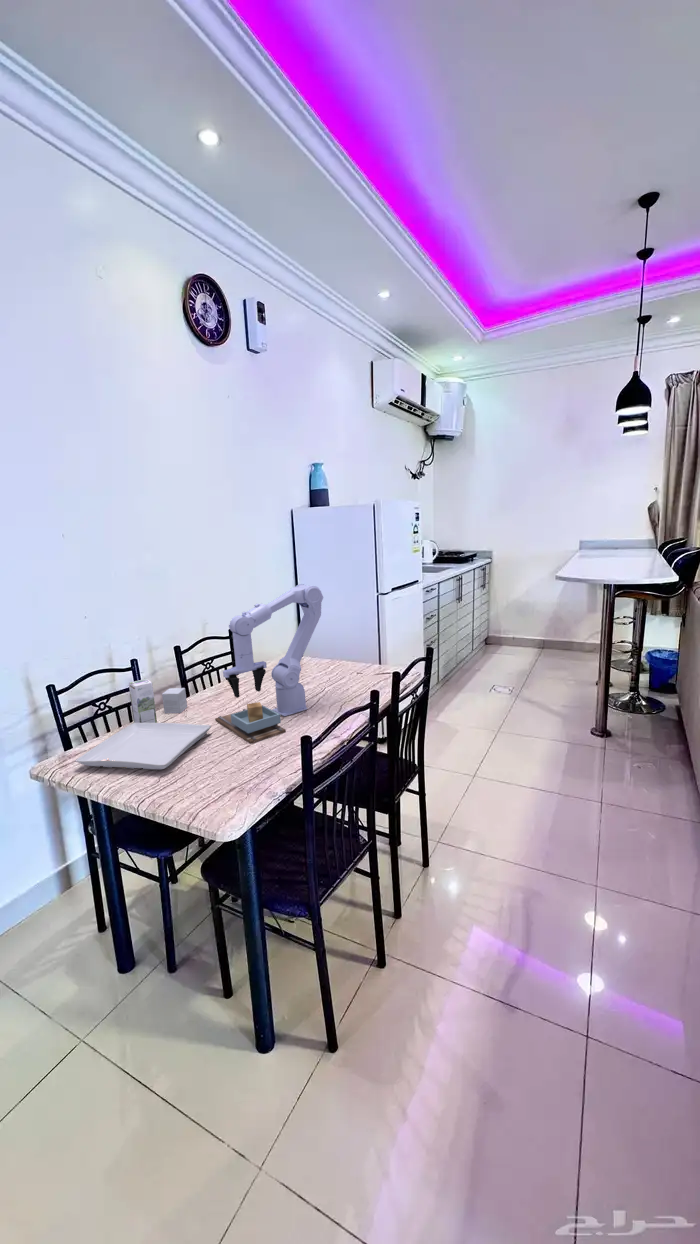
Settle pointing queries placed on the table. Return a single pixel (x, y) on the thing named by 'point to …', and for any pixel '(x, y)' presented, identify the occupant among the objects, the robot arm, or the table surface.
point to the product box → (174, 700)
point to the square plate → (145, 745)
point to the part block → (254, 712)
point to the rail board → (254, 735)
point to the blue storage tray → (243, 723)
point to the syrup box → (142, 701)
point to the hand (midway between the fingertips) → (247, 693)
